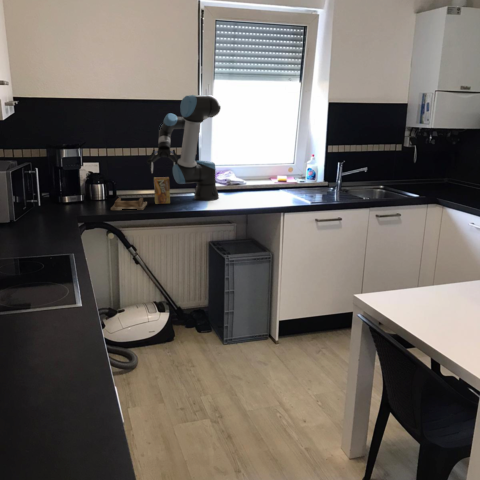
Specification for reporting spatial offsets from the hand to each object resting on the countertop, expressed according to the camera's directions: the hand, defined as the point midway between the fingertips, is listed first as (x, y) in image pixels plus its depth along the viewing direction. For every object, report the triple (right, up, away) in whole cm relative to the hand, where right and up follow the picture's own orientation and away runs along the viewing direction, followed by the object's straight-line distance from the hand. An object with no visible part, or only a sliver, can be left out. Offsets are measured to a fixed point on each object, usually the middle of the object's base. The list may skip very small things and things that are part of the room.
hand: (163, 171), depth 325 cm
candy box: (+1, -20, -8) cm, 21 cm away
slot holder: (-17, -22, -18) cm, 33 cm away
